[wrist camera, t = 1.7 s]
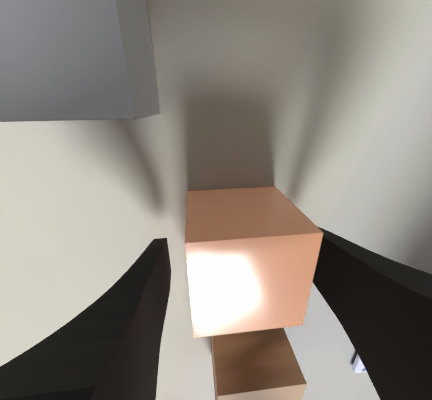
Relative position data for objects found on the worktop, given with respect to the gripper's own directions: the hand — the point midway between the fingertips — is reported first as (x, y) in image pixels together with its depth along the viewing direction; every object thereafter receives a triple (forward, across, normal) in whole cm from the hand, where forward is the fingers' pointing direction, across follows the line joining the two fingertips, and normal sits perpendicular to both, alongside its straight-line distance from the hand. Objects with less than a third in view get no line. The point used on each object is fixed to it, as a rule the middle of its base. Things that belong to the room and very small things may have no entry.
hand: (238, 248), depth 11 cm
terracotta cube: (+2, 0, 0) cm, 2 cm away
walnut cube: (+2, -1, +10) cm, 10 cm away
